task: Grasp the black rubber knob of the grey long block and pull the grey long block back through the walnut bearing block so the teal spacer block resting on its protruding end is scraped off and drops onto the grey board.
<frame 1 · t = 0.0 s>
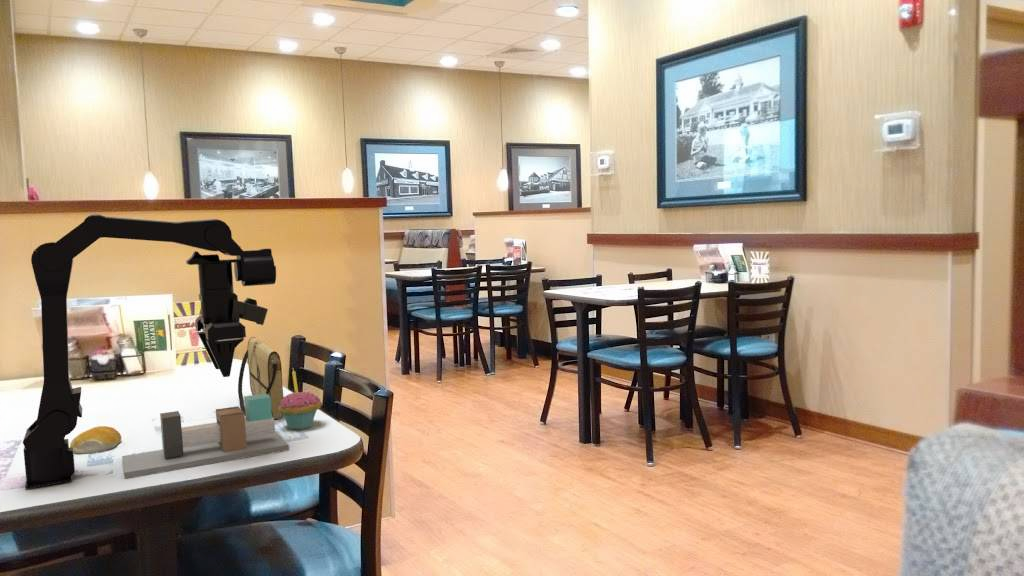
hand: (222, 372, 138), 15 cm above the table, fingers open, 9 cm apart
guide: (206, 455, 137), on the table
spacer: (258, 417, 141), point 5 cm above the table, touching grey long block
cupcake: (301, 427, 155), on the table
grey long block: (219, 427, 137), point 5 cm above the table, slide at 0.0 cm, touching spacer
shoulder bag: (257, 410, 171), on the table
bread roll: (96, 449, 145), on the table
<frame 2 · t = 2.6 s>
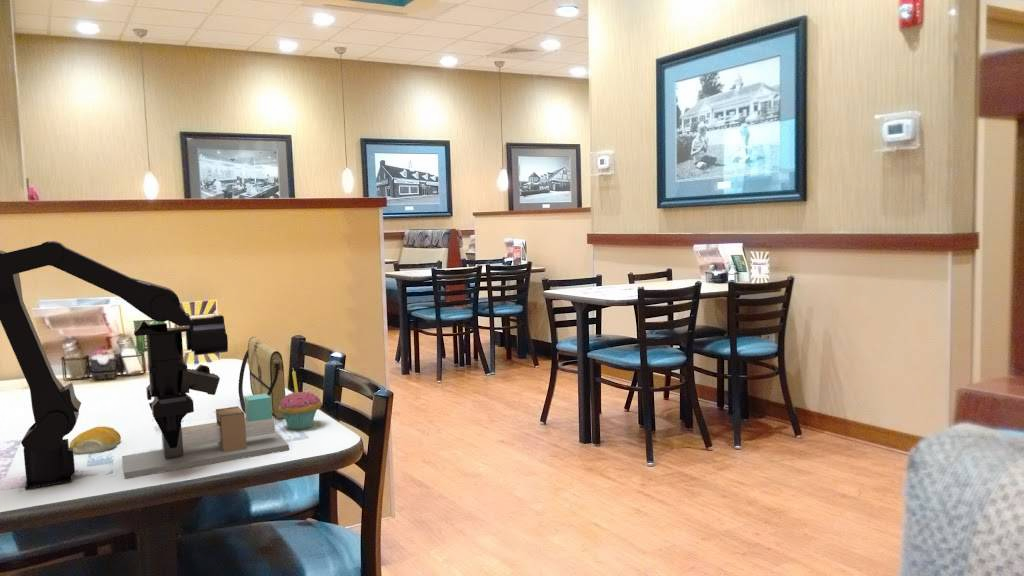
hand: (172, 444, 134), 3 cm above the table, fingers closed on grey long block, 4 cm apart
grey long block: (219, 427, 137), point 5 cm above the table, slide at 0.0 cm, touching gripper, spacer
everything else where it was.
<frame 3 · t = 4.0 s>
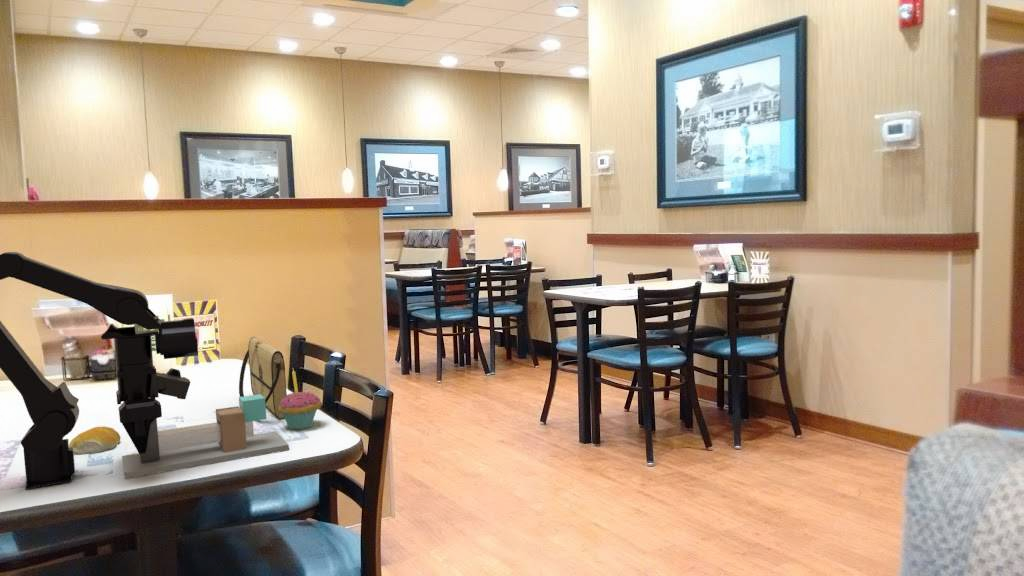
hand: (141, 450, 131), 3 cm above the table, fingers closed on grey long block, 4 cm apart
spacer: (253, 418, 140), point 5 cm above the table, touching guide, grey long block
grey long block: (196, 430, 136), point 5 cm above the table, slide at 3.8 cm, touching gripper, spacer
everything else where it was.
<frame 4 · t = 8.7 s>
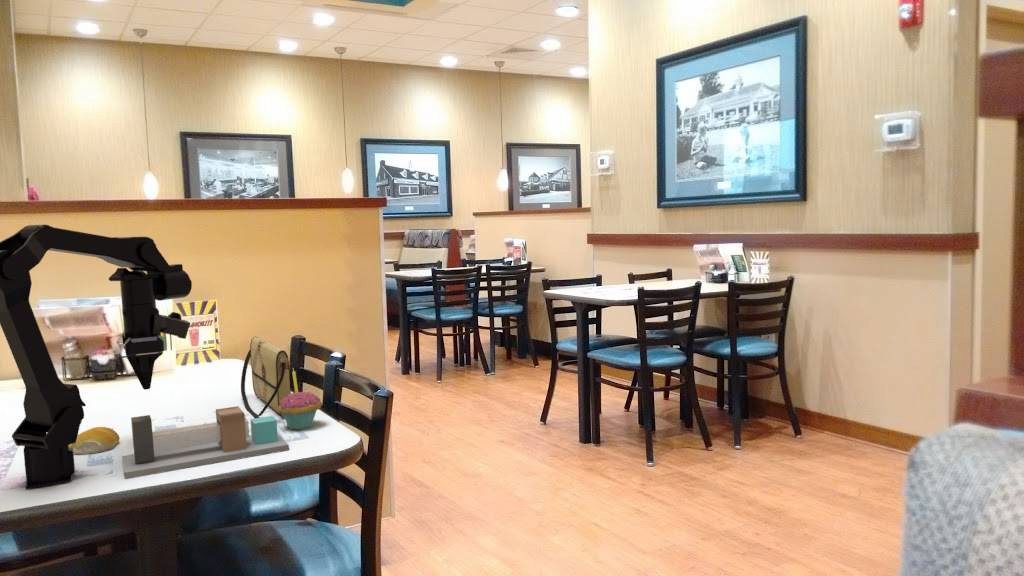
hand: (145, 384, 143), 12 cm above the table, fingers open, 9 cm apart
spacer: (253, 431, 140), point 3 cm above the table, tilted 90°, touching guide
grey long block: (192, 431, 135), point 5 cm above the table, slide at 4.7 cm
at the end: spacer point 3.0 cm above the table; spacer inside the target area (1.7 cm from its centre), point 3.0 cm above the table; grey long block slide at 4.7 cm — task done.
